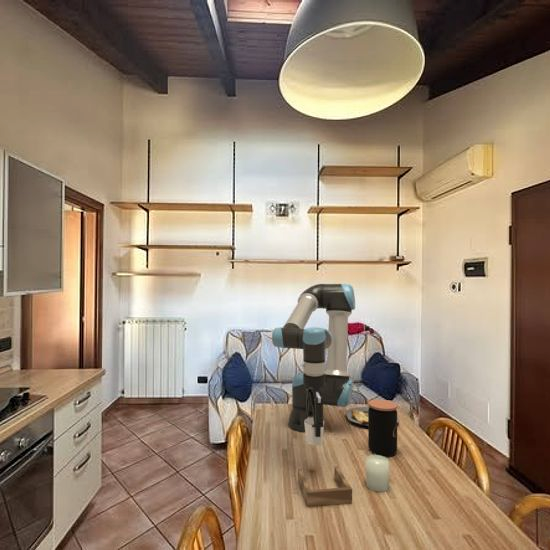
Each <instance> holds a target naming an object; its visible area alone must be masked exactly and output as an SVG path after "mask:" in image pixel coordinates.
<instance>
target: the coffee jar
mask: <svg viewBox="0 0 550 550" xmlns="http://www.w3.org/2000/svg"><path fill="white" fill-rule="evenodd" d="M368 407H369V410H368V413H367V417H368V426H367V427H368V431H367V432H368V433H367V435H368V437H367V441H368V449H369V451H370V452H371V453H372V454H373V455H380V456H383V457H385V458H388V457H393V456H395V455H396V453H397V452H398V424H397V418H398V404H397V403H396V402H394V401H392V400H387V399H372V400H369V401H368Z"/></svg>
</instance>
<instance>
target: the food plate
mask: <svg viewBox="0 0 550 550" xmlns="http://www.w3.org/2000/svg"><path fill="white" fill-rule="evenodd" d="M369 407H370V406H363V407H362V406H358V407H352V408H349V409H347V410H346V411H345V412H344V413H345V415H346V417H347V419H348V420H349V422H351V423H354V424H357V425H361V426H365V427H368V415H366V414H368V410H369ZM399 422H400V419H399V417H397V425H398V424H399Z"/></svg>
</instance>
